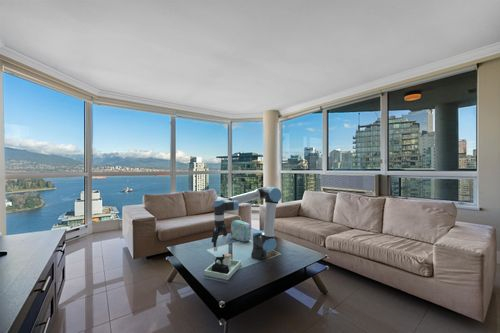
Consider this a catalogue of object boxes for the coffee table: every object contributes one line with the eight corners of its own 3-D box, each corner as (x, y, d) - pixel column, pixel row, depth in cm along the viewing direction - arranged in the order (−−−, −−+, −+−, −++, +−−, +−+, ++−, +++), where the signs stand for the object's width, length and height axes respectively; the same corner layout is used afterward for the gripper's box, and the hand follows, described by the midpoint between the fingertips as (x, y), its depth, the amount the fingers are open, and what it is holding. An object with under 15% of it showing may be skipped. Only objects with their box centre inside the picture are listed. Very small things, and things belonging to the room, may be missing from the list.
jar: (233, 264, 175) (232, 254, 175) (229, 268, 169) (229, 257, 169) (226, 263, 177) (225, 253, 177) (222, 267, 171) (222, 256, 171)
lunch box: (229, 237, 244) (228, 219, 244) (235, 235, 251) (235, 217, 251) (244, 243, 225) (244, 223, 225) (251, 241, 232) (251, 221, 232)
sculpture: (224, 277, 155) (223, 257, 155) (210, 273, 161) (209, 253, 161) (230, 272, 162) (229, 253, 162) (216, 269, 168) (216, 250, 168)
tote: (241, 266, 174) (241, 260, 174) (227, 281, 152) (227, 275, 152) (220, 262, 181) (220, 257, 181) (204, 276, 159) (204, 270, 159)
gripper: (222, 215, 174) (223, 241, 174) (206, 223, 151) (206, 253, 151) (231, 216, 171) (231, 242, 172) (215, 224, 148) (216, 254, 148)
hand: (220, 247), depth 161 cm, fingers open, 13 cm apart
